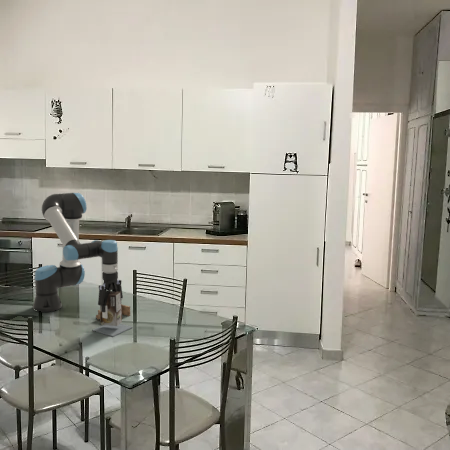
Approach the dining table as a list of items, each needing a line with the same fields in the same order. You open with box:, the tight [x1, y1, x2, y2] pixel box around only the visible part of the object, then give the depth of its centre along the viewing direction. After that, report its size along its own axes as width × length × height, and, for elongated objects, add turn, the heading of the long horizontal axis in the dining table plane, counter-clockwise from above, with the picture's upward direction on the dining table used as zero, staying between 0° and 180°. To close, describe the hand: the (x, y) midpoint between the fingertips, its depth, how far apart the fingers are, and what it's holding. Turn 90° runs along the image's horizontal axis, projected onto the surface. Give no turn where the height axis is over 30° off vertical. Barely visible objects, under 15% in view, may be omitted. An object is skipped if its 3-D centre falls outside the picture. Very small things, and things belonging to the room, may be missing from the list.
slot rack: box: [95, 303, 131, 321], centre depth 272 cm, size 12×14×5 cm
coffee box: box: [99, 290, 123, 326], centre depth 255 cm, size 9×6×16 cm
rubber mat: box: [92, 323, 134, 338], centre depth 256 cm, size 14×14×1 cm
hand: (110, 315), depth 255 cm, fingers closed on coffee box, 8 cm apart
